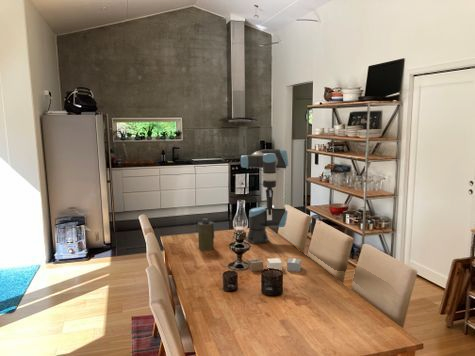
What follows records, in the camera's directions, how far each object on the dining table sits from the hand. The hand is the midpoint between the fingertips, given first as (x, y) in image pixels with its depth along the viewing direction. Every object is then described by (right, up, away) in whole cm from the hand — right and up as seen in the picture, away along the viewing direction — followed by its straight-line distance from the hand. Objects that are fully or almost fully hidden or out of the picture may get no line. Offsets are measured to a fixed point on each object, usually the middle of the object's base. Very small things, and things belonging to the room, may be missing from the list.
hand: (269, 219), depth 224 cm
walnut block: (-9, -28, -4) cm, 29 cm away
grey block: (+14, -28, -6) cm, 31 cm away
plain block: (+3, -28, -5) cm, 28 cm away
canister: (-40, -23, +32) cm, 56 cm away
